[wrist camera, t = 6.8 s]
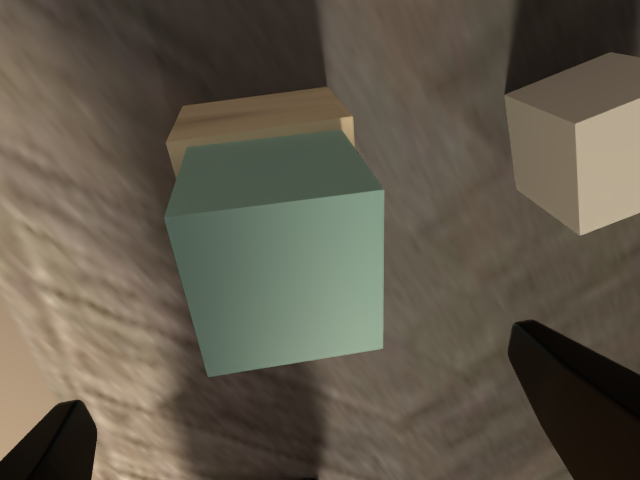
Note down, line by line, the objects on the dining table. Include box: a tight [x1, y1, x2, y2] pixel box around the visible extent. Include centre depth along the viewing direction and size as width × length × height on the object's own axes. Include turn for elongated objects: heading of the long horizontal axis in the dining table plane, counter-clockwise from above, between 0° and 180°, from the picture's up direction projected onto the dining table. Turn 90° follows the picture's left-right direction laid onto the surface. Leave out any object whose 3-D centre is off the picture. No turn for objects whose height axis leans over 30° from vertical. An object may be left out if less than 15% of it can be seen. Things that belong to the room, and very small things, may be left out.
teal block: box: [164, 130, 384, 377], centre depth 13 cm, size 5×5×5 cm
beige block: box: [504, 52, 640, 235], centre depth 19 cm, size 5×5×5 cm
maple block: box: [166, 87, 355, 179], centre depth 18 cm, size 6×6×5 cm
